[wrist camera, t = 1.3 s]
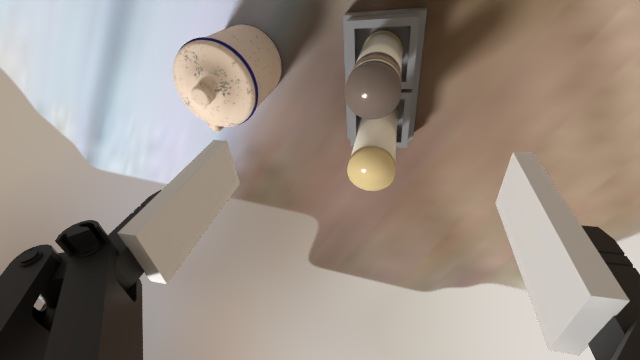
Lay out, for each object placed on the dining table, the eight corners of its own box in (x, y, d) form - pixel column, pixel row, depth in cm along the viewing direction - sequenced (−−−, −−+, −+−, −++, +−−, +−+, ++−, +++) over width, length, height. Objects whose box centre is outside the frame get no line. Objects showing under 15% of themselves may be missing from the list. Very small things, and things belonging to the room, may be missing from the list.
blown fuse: (362, 30, 30) (343, 65, 21) (404, 28, 29) (403, 63, 20) (362, 71, 33) (345, 119, 23) (401, 70, 32) (399, 120, 22)
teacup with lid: (223, 6, 34) (156, 25, 25) (295, 45, 34) (256, 78, 26) (206, 95, 41) (150, 135, 32) (265, 126, 42) (227, 173, 33)
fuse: (362, 97, 34) (346, 150, 25) (399, 97, 33) (396, 152, 24) (362, 129, 37) (348, 189, 27) (396, 130, 36) (393, 192, 26)
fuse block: (346, 12, 31) (339, 19, 28) (425, 7, 29) (428, 13, 26) (349, 131, 40) (344, 147, 36) (412, 133, 38) (412, 149, 35)
